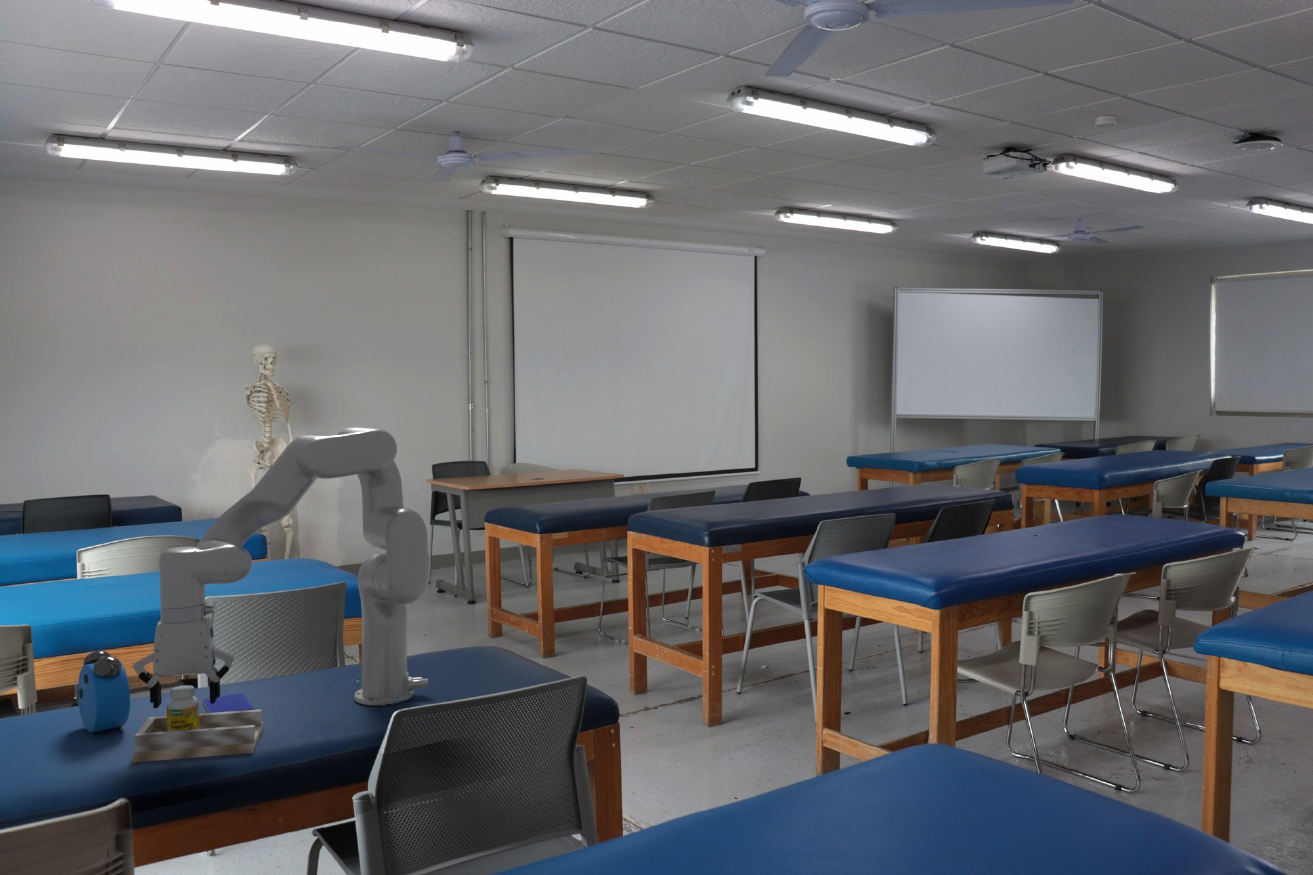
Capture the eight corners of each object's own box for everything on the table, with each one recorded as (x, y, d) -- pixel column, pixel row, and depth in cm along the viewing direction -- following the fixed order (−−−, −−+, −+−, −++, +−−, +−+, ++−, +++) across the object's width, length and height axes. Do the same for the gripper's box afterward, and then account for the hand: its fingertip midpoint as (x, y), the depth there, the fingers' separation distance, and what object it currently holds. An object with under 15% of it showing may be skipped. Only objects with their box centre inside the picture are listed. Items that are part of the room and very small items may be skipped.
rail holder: (263, 727, 186) (263, 706, 186) (252, 752, 173) (252, 730, 173) (151, 735, 181) (151, 714, 181) (132, 762, 168) (131, 739, 167)
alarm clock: (131, 734, 182) (130, 657, 181) (95, 741, 177) (94, 663, 177) (110, 717, 191) (110, 644, 190) (76, 724, 187) (75, 650, 186)
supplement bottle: (200, 732, 180) (199, 682, 179) (198, 741, 175) (197, 691, 174) (168, 735, 178) (168, 685, 177) (165, 745, 173) (165, 694, 172)
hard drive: (202, 698, 201) (212, 714, 190) (244, 692, 205) (255, 707, 195) (203, 705, 201) (212, 722, 191) (244, 699, 205) (255, 715, 195)
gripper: (236, 606, 181) (238, 693, 182) (137, 612, 177) (140, 701, 177) (230, 615, 174) (232, 706, 175) (126, 621, 169) (129, 714, 170)
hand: (185, 703), depth 176 cm, fingers open, 9 cm apart
